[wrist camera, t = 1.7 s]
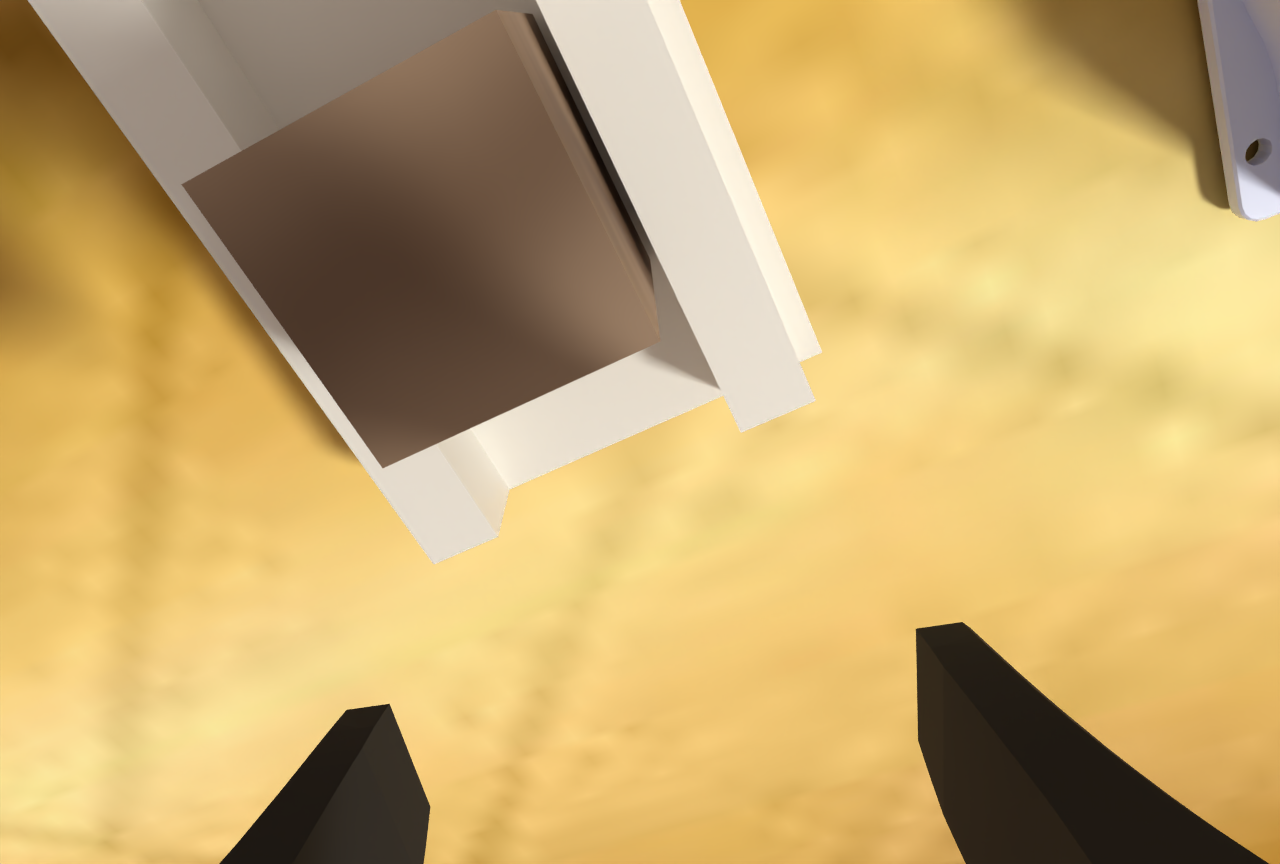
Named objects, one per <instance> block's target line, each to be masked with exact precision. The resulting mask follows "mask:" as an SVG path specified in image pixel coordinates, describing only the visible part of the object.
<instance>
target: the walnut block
mask: <svg viewBox="0 0 1280 864" xmlns="http://www.w3.org/2000/svg"><path fill="white" fill-rule="evenodd" d="M181 185H182V186H183V187H184V189H185V190H186V192H187V193H188V194H189V196H190V197H191V199H192V200H193V202H194V203H195V204H196V206H197V207H198V209H199V210H200V211H201V213H202V214H203V216H204V217H205V218H206V220H207V221H208V223H209V224H210V226H211V227H212V228H213V230H214V231H215V233H216V234H217V235H218V237H219V238H220V240H221V241H222V242H223V244H224V245H225V247H226V248H227V250H228V251H229V252H230V254H231V255H232V257H233V258H234V259H235V261H236V262H237V264H238V265H239V266H240V268H241V269H242V271H243V272H244V274H245V275H246V276H247V278H248V279H249V281H250V282H251V283H252V285H253V286H254V288H255V289H256V290H257V292H258V293H259V295H260V296H261V298H262V299H263V300H264V302H265V303H266V305H267V306H268V307H269V309H270V310H271V312H272V313H273V314H274V316H275V317H276V319H277V320H278V322H279V323H280V324H281V326H282V327H283V329H284V330H285V331H286V333H287V334H288V336H289V337H290V338H291V340H292V341H293V343H294V344H295V346H296V347H297V348H298V350H299V351H300V353H301V354H302V355H303V357H304V358H305V360H306V361H307V362H308V364H309V365H310V367H311V368H312V369H313V371H314V372H315V374H316V375H317V377H318V378H319V379H320V381H321V382H322V384H323V385H324V386H325V388H326V389H327V391H328V392H329V393H330V395H331V396H332V398H333V399H334V401H335V402H336V403H337V405H338V406H339V408H340V409H341V410H342V412H343V413H344V415H345V416H346V417H347V419H348V420H349V422H350V423H351V425H352V426H353V427H354V429H355V430H356V432H357V433H358V434H359V436H360V437H361V439H362V440H363V441H364V443H365V444H366V446H367V447H368V449H369V450H370V451H371V453H372V454H373V456H374V457H375V458H376V460H377V461H378V463H379V464H380V465H381V467H382V468H385V467H387V466H389V465H392V464H394V463H396V462H398V461H400V460H402V459H405V458H407V457H409V456H411V455H413V454H416V453H418V452H420V451H422V450H424V449H427V448H429V447H431V446H433V445H435V444H437V443H440V442H442V441H444V440H446V439H448V438H451V437H453V436H455V435H457V434H459V433H461V432H464V431H466V430H468V429H470V428H472V427H475V426H477V425H479V424H481V423H483V422H486V421H488V420H490V419H492V418H494V417H496V416H499V415H501V414H503V413H505V412H507V411H510V410H512V409H514V408H516V407H518V406H521V405H523V404H525V403H527V402H529V401H531V400H534V399H536V398H538V397H540V396H542V395H545V394H547V393H549V392H551V391H553V390H556V389H558V388H560V387H562V386H564V385H566V384H569V383H571V382H573V381H575V380H577V379H580V378H582V377H584V376H586V375H588V374H590V373H593V372H595V371H597V370H599V369H601V368H604V367H606V366H608V365H610V364H612V363H615V362H617V361H619V360H621V359H623V358H625V357H628V356H630V355H632V354H634V353H636V352H639V351H641V350H643V349H645V348H647V347H650V346H652V345H654V344H656V343H658V342H660V334H659V326H658V318H657V310H656V302H655V294H654V286H653V278H652V270H651V262H650V258H649V256H648V254H647V252H646V250H645V248H644V246H643V243H642V241H641V239H640V237H639V235H638V233H637V231H636V229H635V227H634V225H633V223H632V221H631V218H630V216H629V214H628V212H627V210H626V208H625V206H624V204H623V202H622V200H621V198H620V195H619V193H618V191H617V189H616V187H615V185H614V183H613V181H612V179H611V177H610V175H609V173H608V170H607V168H606V166H605V164H604V162H603V160H602V158H601V156H600V154H599V152H598V150H597V147H596V145H595V143H594V141H593V139H592V137H591V135H590V133H589V131H588V129H587V127H586V125H585V122H584V120H583V118H582V116H581V114H580V112H579V110H578V108H577V106H576V104H575V102H574V99H573V97H572V95H571V93H570V91H569V89H568V87H567V85H566V83H565V81H564V79H563V77H562V74H561V72H560V70H559V68H558V66H557V64H556V62H555V60H554V58H553V56H552V54H551V51H550V49H549V47H548V45H547V43H546V41H545V39H544V37H543V35H542V33H541V31H540V29H539V26H538V24H537V22H536V20H535V18H534V16H533V14H529V13H520V12H511V11H503V10H495V11H493V12H491V13H489V14H487V15H486V16H484V17H482V18H480V19H478V20H477V21H475V22H473V23H471V24H469V25H468V26H466V27H464V28H462V29H460V30H459V31H457V32H455V33H453V34H451V35H450V36H448V37H446V38H444V39H442V40H441V41H439V42H437V43H435V44H433V45H432V46H430V47H428V48H426V49H424V50H423V51H421V52H419V53H417V54H415V55H413V56H412V57H410V58H408V59H406V60H404V61H403V62H401V63H399V64H397V65H395V66H394V67H392V68H390V69H388V70H386V71H385V72H383V73H381V74H379V75H377V76H376V77H374V78H372V79H370V80H368V81H367V82H365V83H363V84H361V85H359V86H358V87H356V88H354V89H352V90H350V91H349V92H347V93H345V94H343V95H341V96H340V97H338V98H336V99H334V100H332V101H331V102H329V103H327V104H325V105H323V106H322V107H320V108H318V109H316V110H314V111H313V112H311V113H309V114H307V115H305V116H304V117H302V118H300V119H298V120H296V121H295V122H293V123H291V124H289V125H287V126H286V127H284V128H282V129H280V130H278V131H277V132H275V133H273V134H271V135H269V136H268V137H266V138H264V139H262V140H260V141H259V142H257V143H255V144H253V145H251V146H250V147H248V148H246V149H244V150H242V151H241V152H239V153H237V154H235V155H233V156H232V157H230V158H228V159H226V160H224V161H223V162H221V163H219V164H217V165H215V166H214V167H212V168H210V169H208V170H206V171H205V172H203V173H201V174H199V175H197V176H196V177H194V178H192V179H190V180H188V181H187V182H185V183H183V184H181Z"/></svg>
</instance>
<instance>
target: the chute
mask: <svg viewBox="0 0 1280 864" xmlns="http://www.w3.org/2000/svg"><path fill="white" fill-rule="evenodd" d="M28 1H29V3H30V4H31V6H32V7H33V8H34V10H35V11H36V13H37V14H38V15H39V17H40V18H41V20H42V21H43V22H44V24H45V25H46V26H47V28H48V29H49V31H50V32H51V33H52V35H53V36H54V38H55V39H56V40H57V42H58V43H59V45H60V46H61V47H62V49H63V50H64V51H65V53H66V54H67V56H68V57H69V58H70V60H71V61H72V63H73V64H74V65H75V67H76V68H77V70H78V71H79V72H80V74H81V75H82V76H83V78H84V79H85V81H86V82H87V83H88V85H89V86H90V88H91V89H92V90H93V92H94V93H95V95H96V96H97V97H98V99H99V100H100V101H101V103H102V104H103V106H104V107H105V108H106V110H107V111H108V113H109V114H110V115H111V117H112V118H113V120H114V121H115V122H116V124H117V125H118V126H119V128H120V129H121V131H122V132H123V133H124V135H125V136H126V138H127V139H128V140H129V142H130V143H131V145H132V146H133V147H134V149H135V150H136V152H137V153H138V154H139V156H140V157H141V158H142V160H143V161H144V163H145V164H146V165H147V167H148V168H149V170H150V171H151V172H152V174H153V175H154V177H155V178H156V179H157V181H158V182H159V183H160V185H161V186H162V188H163V189H164V190H165V192H166V193H167V195H168V196H169V197H170V199H171V200H172V202H173V203H174V204H175V206H176V207H177V208H178V210H179V211H180V213H181V214H182V215H183V217H184V218H185V220H186V221H187V222H188V224H189V225H190V227H191V228H192V229H193V231H194V232H195V233H196V235H197V236H198V238H199V239H200V240H201V242H202V243H203V245H204V246H205V247H206V249H207V250H208V252H209V253H210V254H211V256H212V257H213V258H214V260H215V261H216V263H217V264H218V265H219V267H220V268H221V270H222V271H223V272H224V274H225V275H226V277H227V278H228V279H229V281H230V282H231V283H232V285H233V286H234V288H235V289H236V290H237V292H238V293H239V295H240V296H241V297H242V299H243V300H244V302H245V303H246V304H247V306H248V307H249V308H250V310H251V311H252V313H253V314H254V315H255V317H256V318H257V320H258V321H259V322H260V324H261V325H262V327H263V328H264V329H265V331H266V332H267V334H268V335H269V336H270V338H271V339H272V340H273V342H274V343H275V345H276V346H277V347H278V349H279V350H280V352H281V353H282V354H283V356H284V357H285V359H286V360H287V361H288V363H289V364H290V365H291V367H292V368H293V370H294V371H295V372H296V374H297V375H298V377H299V378H300V379H301V381H302V382H303V384H304V385H305V386H306V388H307V389H308V390H309V392H310V393H311V395H312V396H313V397H314V399H315V400H316V402H317V403H318V404H319V406H320V407H321V409H322V410H323V411H324V413H325V414H326V415H327V417H328V418H329V420H330V421H331V422H332V424H333V425H334V427H335V428H336V429H337V431H338V432H339V434H340V435H341V436H342V438H343V439H344V440H345V442H346V443H347V445H348V446H349V447H350V449H351V450H352V452H353V453H354V454H355V456H356V457H357V459H358V460H359V461H360V463H361V464H362V465H363V467H364V468H365V470H366V471H367V472H368V474H369V475H370V477H371V478H372V479H373V481H374V482H375V484H376V485H377V486H378V488H379V489H380V490H381V492H382V493H383V495H384V496H385V497H386V499H387V500H388V502H389V503H390V504H391V506H392V507H393V509H394V510H395V511H396V513H397V514H398V516H399V517H400V518H401V520H402V521H403V522H404V524H405V525H406V527H407V528H408V529H409V531H410V532H411V534H412V535H413V536H414V538H415V539H416V541H417V542H418V543H419V545H420V546H421V547H422V549H423V550H424V552H425V553H426V554H427V556H428V557H429V559H430V560H431V561H432V563H433V564H436V563H438V562H440V561H443V560H445V559H447V558H450V557H452V556H454V555H457V554H459V553H461V552H464V551H466V550H468V549H471V548H473V547H475V546H478V545H480V544H482V543H485V542H487V541H489V540H492V539H494V538H496V537H498V535H499V531H500V527H501V523H502V519H503V515H504V510H505V506H506V502H507V498H508V494H509V489H512V488H514V487H516V486H518V485H521V484H523V483H525V482H528V481H530V480H532V479H534V478H537V477H539V476H541V475H543V474H546V473H548V472H550V471H553V470H555V469H557V468H559V467H562V466H564V465H566V464H569V463H571V462H573V461H575V460H578V459H580V458H582V457H585V456H587V455H589V454H591V453H594V452H596V451H598V450H601V449H603V448H605V447H607V446H610V445H612V444H614V443H616V442H619V441H621V440H623V439H626V438H628V437H630V436H632V435H635V434H637V433H639V432H642V431H644V430H646V429H648V428H651V427H653V426H655V425H658V424H660V423H662V422H664V421H667V420H669V419H671V418H674V417H676V416H678V415H680V414H683V413H685V412H687V411H689V410H692V409H694V408H696V407H699V406H701V405H703V404H705V403H708V402H710V401H712V400H715V399H717V398H719V397H721V396H724V398H725V400H726V402H727V404H728V406H729V409H730V411H731V413H732V415H733V417H734V419H735V421H736V423H737V425H738V427H739V430H740V432H741V433H742V432H744V431H746V430H749V429H751V428H753V427H756V426H758V425H760V424H763V423H765V422H767V421H770V420H772V419H774V418H777V417H779V416H781V415H784V414H786V413H788V412H791V411H793V410H795V409H798V408H800V407H802V406H805V405H807V404H809V403H812V402H814V401H816V400H815V398H814V396H813V393H812V391H811V388H810V386H809V384H808V381H807V379H806V377H805V374H804V372H803V369H802V367H801V365H800V362H801V361H804V360H806V359H808V358H810V357H813V356H815V355H817V354H820V353H822V351H821V348H820V346H819V343H818V341H817V338H816V336H815V333H814V331H813V329H812V326H811V324H810V321H809V319H808V316H807V314H806V311H805V309H804V306H803V304H802V301H801V299H800V296H799V294H798V291H797V289H796V287H795V284H794V282H793V279H792V277H791V274H790V272H789V269H788V267H787V264H786V262H785V259H784V257H783V254H782V252H781V249H780V247H779V245H778V242H777V240H776V237H775V235H774V232H773V230H772V227H771V225H770V222H769V220H768V217H767V215H766V212H765V210H764V208H763V205H762V203H761V200H760V198H759V195H758V193H757V190H756V188H755V185H754V183H753V180H752V178H751V175H750V173H749V170H748V168H747V166H746V163H745V161H744V158H743V156H742V153H741V151H740V148H739V146H738V143H737V141H736V138H735V136H734V133H733V131H732V129H731V126H730V124H729V121H728V119H727V116H726V114H725V111H724V109H723V106H722V104H721V101H720V99H719V96H718V94H717V91H716V89H715V87H714V84H713V82H712V79H711V77H710V74H709V72H708V69H707V67H706V64H705V62H704V59H703V57H702V54H701V52H700V50H699V47H698V45H697V42H696V40H695V37H694V35H693V32H692V30H691V27H690V25H689V22H688V20H687V17H686V15H685V12H684V10H683V8H682V5H681V3H680V0H28ZM495 10H503V11H511V12H520V13H529V14H533V16H534V18H535V20H536V22H537V24H538V26H539V29H540V31H541V33H542V35H543V37H544V39H545V41H546V43H547V45H548V47H549V49H550V51H551V54H552V56H553V58H554V60H555V62H556V64H557V66H558V68H559V70H560V72H561V74H562V77H563V79H564V81H565V83H566V85H567V87H568V89H569V91H570V93H571V95H572V97H573V99H574V102H575V104H576V106H577V108H578V110H579V112H580V114H581V116H582V118H583V120H584V122H585V125H586V127H587V129H588V131H589V133H590V135H591V137H592V139H593V141H594V143H595V145H596V147H597V150H598V152H599V154H600V156H601V158H602V160H603V162H604V164H605V166H606V168H607V170H608V173H609V175H610V177H611V179H612V181H613V183H614V185H615V187H616V189H617V191H618V193H619V195H620V198H621V200H622V202H623V204H624V206H625V208H626V210H627V212H628V214H629V216H630V218H631V221H632V223H633V225H634V227H635V229H636V231H637V233H638V235H639V237H640V239H641V241H642V243H643V246H644V248H645V250H646V252H647V254H648V256H649V258H650V262H651V270H652V278H653V286H654V294H655V302H656V310H657V318H658V326H659V334H660V342H658V343H656V344H654V345H652V346H650V347H647V348H645V349H643V350H641V351H639V352H636V353H634V354H632V355H630V356H628V357H625V358H623V359H621V360H619V361H617V362H615V363H612V364H610V365H608V366H606V367H604V368H601V369H599V370H597V371H595V372H593V373H590V374H588V375H586V376H584V377H582V378H580V379H577V380H575V381H573V382H571V383H569V384H566V385H564V386H562V387H560V388H558V389H556V390H553V391H551V392H549V393H547V394H545V395H542V396H540V397H538V398H536V399H534V400H531V401H529V402H527V403H525V404H523V405H521V406H518V407H516V408H514V409H512V410H510V411H507V412H505V413H503V414H501V415H499V416H496V417H494V418H492V419H490V420H488V421H486V422H483V423H481V424H479V425H477V426H475V427H472V428H470V429H468V430H466V431H464V432H461V433H459V434H457V435H455V436H453V437H451V438H448V439H446V440H444V441H442V442H440V443H437V444H435V445H433V446H431V447H429V448H427V449H424V450H422V451H420V452H418V453H416V454H413V455H411V456H409V457H407V458H405V459H402V460H400V461H398V462H396V463H394V464H392V465H389V466H387V467H385V468H382V467H381V465H380V464H379V463H378V461H377V460H376V458H375V457H374V456H373V454H372V453H371V451H370V450H369V449H368V447H367V446H366V444H365V443H364V441H363V440H362V439H361V437H360V436H359V434H358V433H357V432H356V430H355V429H354V427H353V426H352V425H351V423H350V422H349V420H348V419H347V417H346V416H345V415H344V413H343V412H342V410H341V409H340V408H339V406H338V405H337V403H336V402H335V401H334V399H333V398H332V396H331V395H330V393H329V392H328V391H327V389H326V388H325V386H324V385H323V384H322V382H321V381H320V379H319V378H318V377H317V375H316V374H315V372H314V371H313V369H312V368H311V367H310V365H309V364H308V362H307V361H306V360H305V358H304V357H303V355H302V354H301V353H300V351H299V350H298V348H297V347H296V346H295V344H294V343H293V341H292V340H291V338H290V337H289V336H288V334H287V333H286V331H285V330H284V329H283V327H282V326H281V324H280V323H279V322H278V320H277V319H276V317H275V316H274V314H273V313H272V312H271V310H270V309H269V307H268V306H267V305H266V303H265V302H264V300H263V299H262V298H261V296H260V295H259V293H258V292H257V290H256V289H255V288H254V286H253V285H252V283H251V282H250V281H249V279H248V278H247V276H246V275H245V274H244V272H243V271H242V269H241V268H240V266H239V265H238V264H237V262H236V261H235V259H234V258H233V257H232V255H231V254H230V252H229V251H228V250H227V248H226V247H225V245H224V244H223V242H222V241H221V240H220V238H219V237H218V235H217V234H216V233H215V231H214V230H213V228H212V227H211V226H210V224H209V223H208V221H207V220H206V218H205V217H204V216H203V214H202V213H201V211H200V210H199V209H198V207H197V206H196V204H195V203H194V202H193V200H192V199H191V197H190V196H189V194H188V193H187V192H186V190H185V189H184V187H183V186H182V185H181V184H183V183H185V182H187V181H188V180H190V179H192V178H194V177H196V176H197V175H199V174H201V173H203V172H205V171H206V170H208V169H210V168H212V167H214V166H215V165H217V164H219V163H221V162H223V161H224V160H226V159H228V158H230V157H232V156H233V155H235V154H237V153H239V152H241V151H242V150H244V149H246V148H248V147H250V146H251V145H253V144H255V143H257V142H259V141H260V140H262V139H264V138H266V137H268V136H269V135H271V134H273V133H275V132H277V131H278V130H280V129H282V128H284V127H286V126H287V125H289V124H291V123H293V122H295V121H296V120H298V119H300V118H302V117H304V116H305V115H307V114H309V113H311V112H313V111H314V110H316V109H318V108H320V107H322V106H323V105H325V104H327V103H329V102H331V101H332V100H334V99H336V98H338V97H340V96H341V95H343V94H345V93H347V92H349V91H350V90H352V89H354V88H356V87H358V86H359V85H361V84H363V83H365V82H367V81H368V80H370V79H372V78H374V77H376V76H377V75H379V74H381V73H383V72H385V71H386V70H388V69H390V68H392V67H394V66H395V65H397V64H399V63H401V62H403V61H404V60H406V59H408V58H410V57H412V56H413V55H415V54H417V53H419V52H421V51H423V50H424V49H426V48H428V47H430V46H432V45H433V44H435V43H437V42H439V41H441V40H442V39H444V38H446V37H448V36H450V35H451V34H453V33H455V32H457V31H459V30H460V29H462V28H464V27H466V26H468V25H469V24H471V23H473V22H475V21H477V20H478V19H480V18H482V17H484V16H486V15H487V14H489V13H491V12H493V11H495Z"/></svg>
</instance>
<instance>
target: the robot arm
mask: <svg viewBox="0 0 1280 864" xmlns="http://www.w3.org/2000/svg"><path fill="white" fill-rule="evenodd" d="M1197 1H1198V7H1199V14H1200V20H1201V27H1202V33H1203V40H1204V46H1205V53H1206V59H1207V66H1208V72H1209V78H1210V85H1211V91H1212V98H1213V104H1214V111H1215V117H1216V124H1217V130H1218V136H1219V143H1220V149H1221V156H1222V162H1223V169H1224V175H1225V182H1226V188H1227V195H1228V201H1229V206H1230V208H1231V211H1232V212H1233V213H1234V214H1235V215H1237V216H1238V217H1240V218H1243V219H1247V220H1252V221H1260V220H1264V219H1267V218H1269V217H1272V216H1274V215H1277V214H1279V213H1280V0H1197ZM1255 140H1257V141H1258V143H1259V146H1258V151H1257V153H1256V154H1255V156H1254V157H1253V158H1252V159H1250V160H1249V161H1246V159H1245V155H1246V150H1247V149H1248V147H1249V146H1250V144H1251V143H1253V142H1254V141H1255ZM916 653H917V704H918V741H919V744H920V747H921V750H922V753H923V757H924V760H925V763H926V766H927V769H928V772H929V775H930V778H931V781H932V784H933V786H934V789H935V792H936V795H937V798H938V801H939V804H940V806H941V809H942V812H943V815H944V817H945V819H946V822H947V824H948V826H949V828H950V830H951V833H952V835H953V837H954V839H955V841H956V843H957V846H958V848H959V850H960V852H961V854H962V856H963V859H964V861H965V863H966V864H1269V863H1267V862H1266V861H1264V860H1262V859H1261V858H1259V857H1258V856H1256V855H1255V854H1253V853H1252V852H1250V851H1249V850H1247V849H1246V848H1244V847H1243V846H1241V845H1240V844H1238V843H1237V842H1235V841H1234V840H1232V839H1231V838H1229V837H1228V836H1226V835H1225V834H1223V833H1222V832H1220V831H1219V830H1217V829H1216V828H1214V827H1213V826H1212V825H1210V824H1209V823H1207V822H1206V821H1204V820H1203V819H1202V818H1200V817H1199V816H1197V815H1196V814H1194V813H1193V812H1192V811H1190V810H1189V809H1188V808H1186V807H1185V806H1183V805H1182V804H1181V803H1179V802H1178V801H1176V800H1175V799H1174V798H1172V797H1171V796H1170V795H1168V794H1167V793H1166V792H1164V791H1163V790H1162V789H1160V788H1159V787H1158V786H1156V785H1155V784H1154V783H1152V782H1151V781H1150V780H1148V779H1147V778H1146V777H1144V776H1143V775H1142V774H1140V773H1139V772H1138V771H1136V770H1135V769H1134V768H1132V767H1131V766H1130V765H1128V764H1127V763H1126V762H1125V761H1123V760H1122V759H1121V758H1120V757H1118V756H1117V755H1116V754H1115V753H1113V752H1112V751H1111V750H1109V749H1108V748H1107V747H1106V746H1104V745H1103V744H1102V743H1101V742H1100V741H1098V740H1097V739H1096V738H1095V737H1094V736H1092V735H1091V734H1090V733H1089V732H1087V731H1086V730H1085V729H1084V728H1083V727H1081V726H1080V725H1079V724H1078V723H1077V722H1075V721H1074V720H1073V719H1072V718H1071V717H1069V716H1068V715H1067V714H1066V713H1064V712H1063V711H1062V710H1061V709H1060V708H1059V707H1057V706H1056V705H1055V704H1054V703H1053V702H1052V701H1050V700H1049V699H1048V698H1047V697H1046V696H1045V695H1043V694H1042V693H1041V692H1040V691H1039V690H1038V689H1037V688H1036V687H1034V686H1033V685H1032V684H1031V683H1030V682H1029V681H1028V680H1027V679H1025V678H1024V677H1023V676H1022V675H1021V674H1020V673H1019V672H1018V671H1016V670H1015V669H1014V668H1013V667H1012V666H1011V665H1010V664H1009V663H1008V662H1007V661H1005V660H1004V659H1003V658H1002V657H1001V656H1000V655H999V654H998V653H997V652H996V651H995V650H993V649H992V648H991V647H990V646H989V645H988V644H987V643H986V642H985V641H984V640H983V639H982V638H980V637H979V636H978V635H977V634H976V633H975V632H974V631H973V630H972V629H971V628H969V627H968V626H967V625H965V624H964V623H963V622H960V623H953V624H946V625H939V626H932V627H925V628H918V629H916ZM429 813H430V805H429V802H428V800H427V797H426V795H425V792H424V790H423V787H422V785H421V782H420V780H419V777H418V775H417V772H416V770H415V767H414V765H413V762H412V760H411V757H410V754H409V752H408V749H407V747H406V744H405V742H404V739H403V737H402V734H401V732H400V729H399V727H398V724H397V722H396V719H395V717H394V714H393V712H392V709H391V707H390V704H385V705H378V706H371V707H364V708H357V709H350V710H346V711H345V713H344V714H343V715H342V716H341V717H340V718H339V720H338V721H337V722H336V723H335V724H334V726H333V727H332V728H331V729H330V731H329V732H328V733H327V734H326V735H325V737H324V738H323V739H322V740H321V742H320V743H319V744H318V745H317V747H316V748H315V749H314V750H313V752H312V753H311V754H310V755H309V757H308V758H307V759H306V760H305V762H304V763H303V764H302V765H301V767H300V768H299V769H298V770H297V772H296V773H295V774H294V775H293V776H292V778H291V779H290V780H289V781H288V783H287V784H286V785H285V786H284V788H283V789H282V790H281V791H280V793H279V794H278V795H277V796H276V797H275V799H274V800H273V801H272V802H271V803H270V805H269V806H268V807H267V808H266V809H265V811H264V812H263V813H262V814H261V815H260V817H259V818H258V819H257V820H256V821H255V823H254V824H253V825H252V826H251V828H250V829H249V830H248V831H247V832H246V834H245V835H244V836H243V837H242V838H241V840H240V841H239V842H238V843H237V844H236V846H235V847H234V848H233V849H232V850H231V851H230V852H229V853H228V855H227V856H226V857H225V858H224V859H223V860H222V861H221V862H220V864H423V863H424V856H425V848H426V840H427V831H428V822H429Z"/></svg>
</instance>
